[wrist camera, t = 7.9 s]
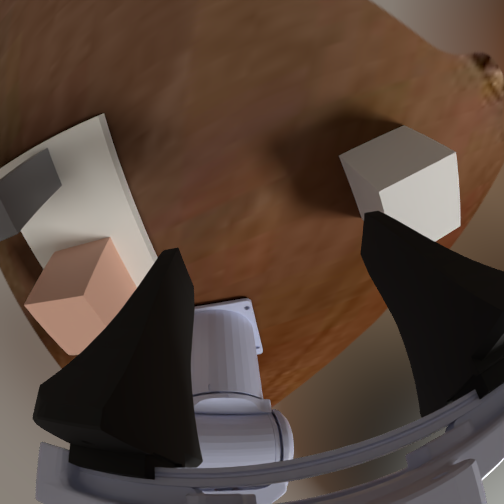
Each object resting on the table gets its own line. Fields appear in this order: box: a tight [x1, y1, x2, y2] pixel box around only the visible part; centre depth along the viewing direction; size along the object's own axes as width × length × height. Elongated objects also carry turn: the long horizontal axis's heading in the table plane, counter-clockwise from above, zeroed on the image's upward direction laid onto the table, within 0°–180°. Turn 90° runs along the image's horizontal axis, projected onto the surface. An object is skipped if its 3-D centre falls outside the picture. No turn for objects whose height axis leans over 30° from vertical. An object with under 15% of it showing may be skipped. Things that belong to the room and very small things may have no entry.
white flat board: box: [0, 113, 157, 287], centre depth 16 cm, size 16×11×7 cm
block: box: [24, 237, 137, 355], centre depth 18 cm, size 6×6×6 cm
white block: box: [339, 125, 460, 242], centre depth 17 cm, size 6×6×6 cm
